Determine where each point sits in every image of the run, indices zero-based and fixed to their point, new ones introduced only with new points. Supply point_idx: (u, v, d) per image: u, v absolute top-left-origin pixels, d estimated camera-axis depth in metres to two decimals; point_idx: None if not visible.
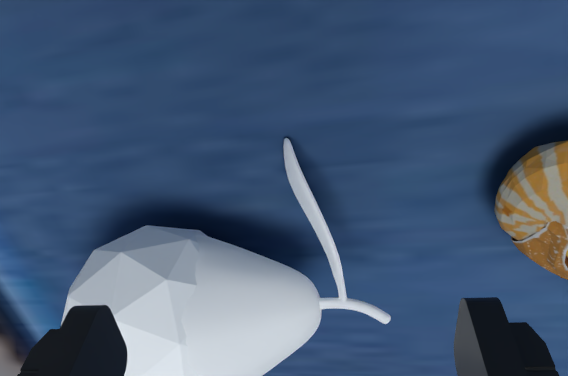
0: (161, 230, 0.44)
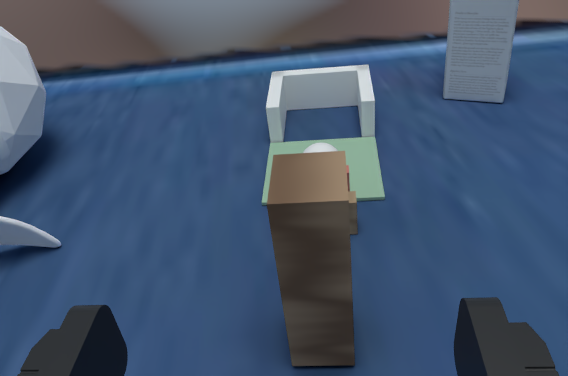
0: (32, 134, 0.48)
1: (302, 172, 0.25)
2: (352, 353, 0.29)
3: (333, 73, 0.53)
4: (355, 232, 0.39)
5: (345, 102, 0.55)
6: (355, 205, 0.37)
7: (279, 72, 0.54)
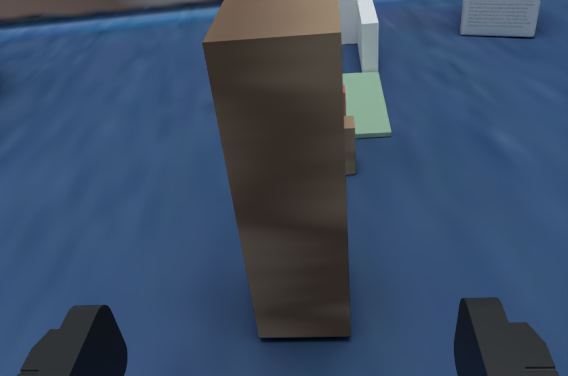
0: None
1: (266, 10, 0.15)
2: (348, 318, 0.19)
3: None
4: (353, 171, 0.29)
5: (342, 39, 0.46)
6: (353, 132, 0.28)
7: None
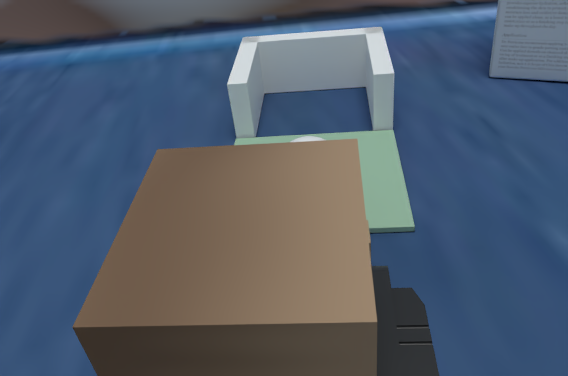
0: None
1: (224, 203, 0.08)
2: None
3: (330, 39, 0.36)
4: None
5: (348, 82, 0.38)
6: None
7: (253, 37, 0.38)
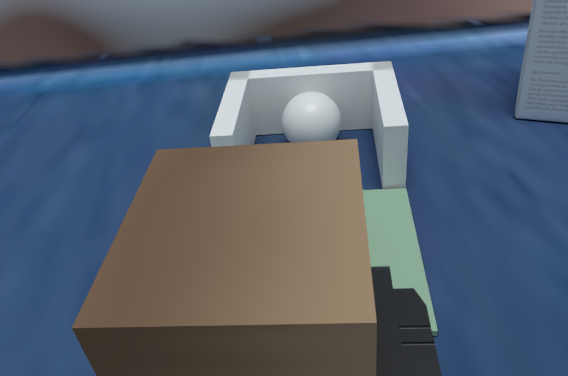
0: None
1: (224, 203, 0.08)
2: None
3: (332, 75, 0.31)
4: None
5: (352, 123, 0.33)
6: None
7: (242, 73, 0.33)
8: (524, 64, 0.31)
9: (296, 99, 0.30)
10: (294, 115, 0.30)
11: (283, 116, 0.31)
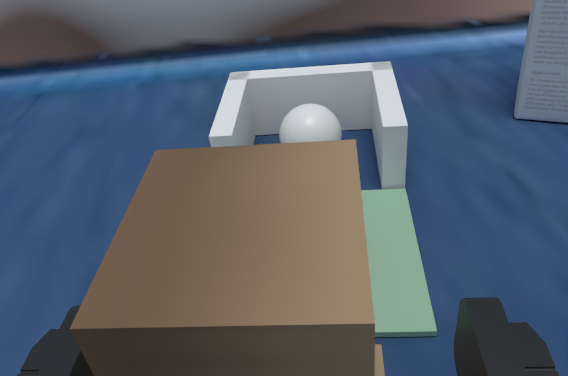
0: None
1: (222, 203, 0.08)
2: None
3: (331, 75, 0.31)
4: None
5: (351, 123, 0.33)
6: None
7: (242, 73, 0.33)
8: (523, 64, 0.31)
9: (294, 133, 0.28)
10: None
11: (281, 141, 0.29)
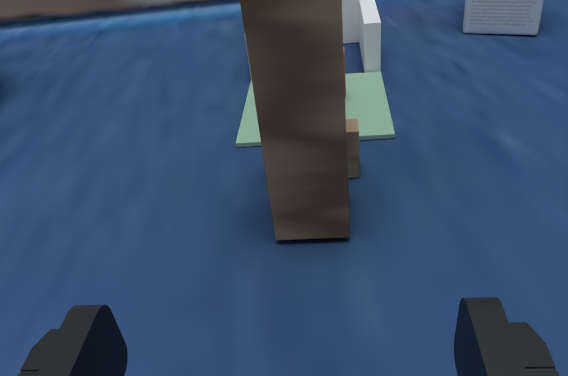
0: None
1: None
2: (347, 220, 0.24)
3: None
4: (357, 175, 0.29)
5: (344, 38, 0.45)
6: (357, 135, 0.28)
7: None
8: None
9: None
10: None
11: None
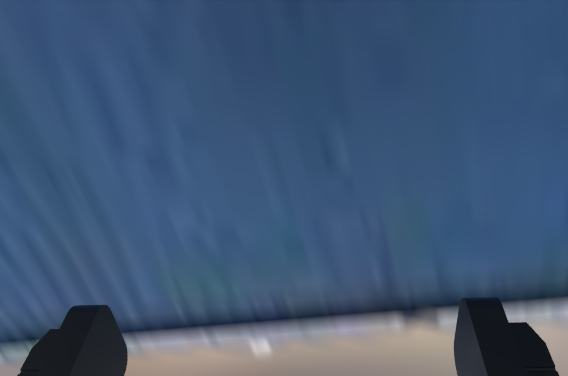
0: None
1: None
2: None
3: None
4: None
5: None
6: None
7: None
8: None
9: None
10: None
11: None
